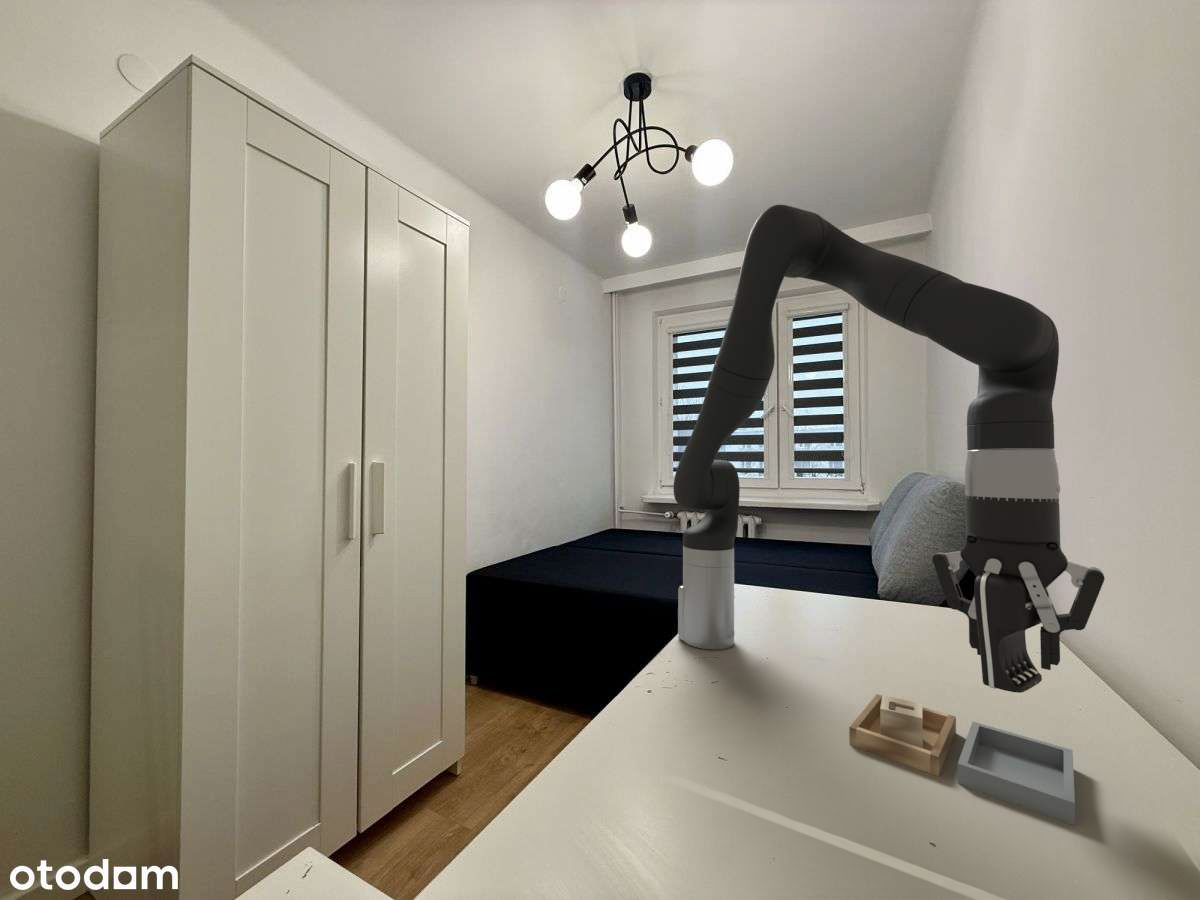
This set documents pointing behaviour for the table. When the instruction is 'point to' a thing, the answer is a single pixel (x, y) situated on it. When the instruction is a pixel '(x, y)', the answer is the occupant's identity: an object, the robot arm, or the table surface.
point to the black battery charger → (1005, 631)
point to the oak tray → (928, 759)
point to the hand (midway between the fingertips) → (1013, 659)
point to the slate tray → (1019, 771)
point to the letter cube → (902, 720)
